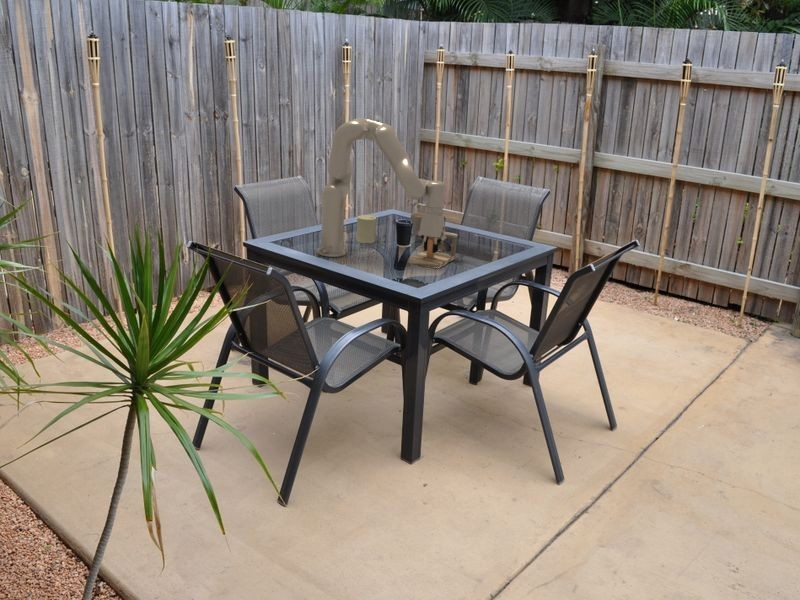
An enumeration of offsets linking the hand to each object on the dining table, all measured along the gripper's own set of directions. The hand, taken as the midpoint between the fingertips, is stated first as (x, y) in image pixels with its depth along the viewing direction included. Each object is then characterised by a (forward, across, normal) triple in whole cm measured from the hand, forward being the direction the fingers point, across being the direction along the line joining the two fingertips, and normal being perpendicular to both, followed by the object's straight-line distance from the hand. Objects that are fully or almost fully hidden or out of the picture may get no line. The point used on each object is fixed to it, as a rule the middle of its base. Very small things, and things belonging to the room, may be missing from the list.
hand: (430, 251), depth 319 cm
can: (+5, -40, +12) cm, 42 cm away
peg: (+2, 0, 0) cm, 2 cm away
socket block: (+5, 0, +3) cm, 6 cm away
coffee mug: (+6, -26, +41) cm, 49 cm away
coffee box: (+6, -9, +21) cm, 24 cm away
